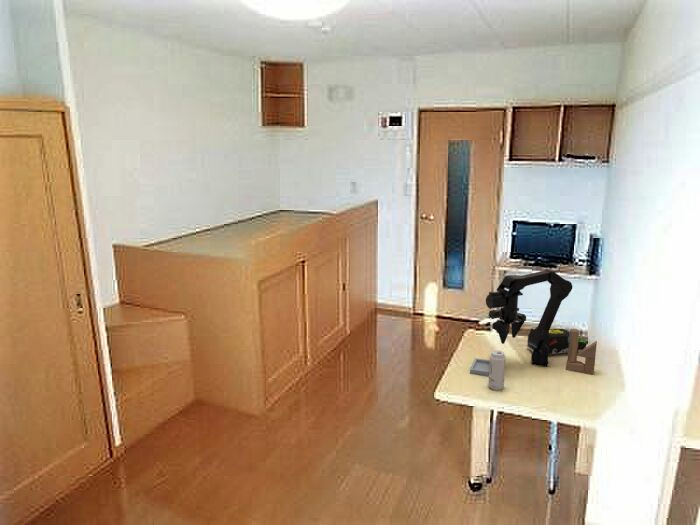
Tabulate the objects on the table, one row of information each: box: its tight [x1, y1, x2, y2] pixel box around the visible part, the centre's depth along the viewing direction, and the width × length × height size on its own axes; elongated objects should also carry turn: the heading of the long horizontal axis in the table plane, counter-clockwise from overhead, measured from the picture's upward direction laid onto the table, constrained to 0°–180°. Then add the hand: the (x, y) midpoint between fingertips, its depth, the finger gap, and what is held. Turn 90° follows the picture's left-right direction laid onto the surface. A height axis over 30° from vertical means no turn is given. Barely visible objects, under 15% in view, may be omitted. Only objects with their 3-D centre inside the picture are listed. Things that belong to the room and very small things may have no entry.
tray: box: [469, 357, 490, 377], centre depth 222 cm, size 12×12×2 cm
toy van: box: [526, 328, 588, 358], centre depth 238 cm, size 11×25×10 cm, turn 99°
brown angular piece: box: [565, 328, 598, 375], centre depth 217 cm, size 4×11×18 cm, turn 60°
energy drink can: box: [488, 349, 507, 392], centre depth 205 cm, size 6×6×15 cm
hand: (508, 340), depth 219 cm, fingers open, 9 cm apart
